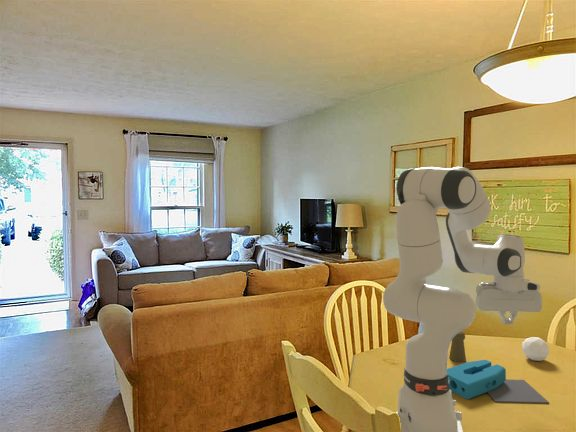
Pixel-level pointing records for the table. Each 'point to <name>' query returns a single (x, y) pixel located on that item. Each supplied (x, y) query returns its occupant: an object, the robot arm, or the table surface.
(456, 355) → the cork
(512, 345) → the table surface
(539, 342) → the white faceted ball
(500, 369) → the block
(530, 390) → the mat
